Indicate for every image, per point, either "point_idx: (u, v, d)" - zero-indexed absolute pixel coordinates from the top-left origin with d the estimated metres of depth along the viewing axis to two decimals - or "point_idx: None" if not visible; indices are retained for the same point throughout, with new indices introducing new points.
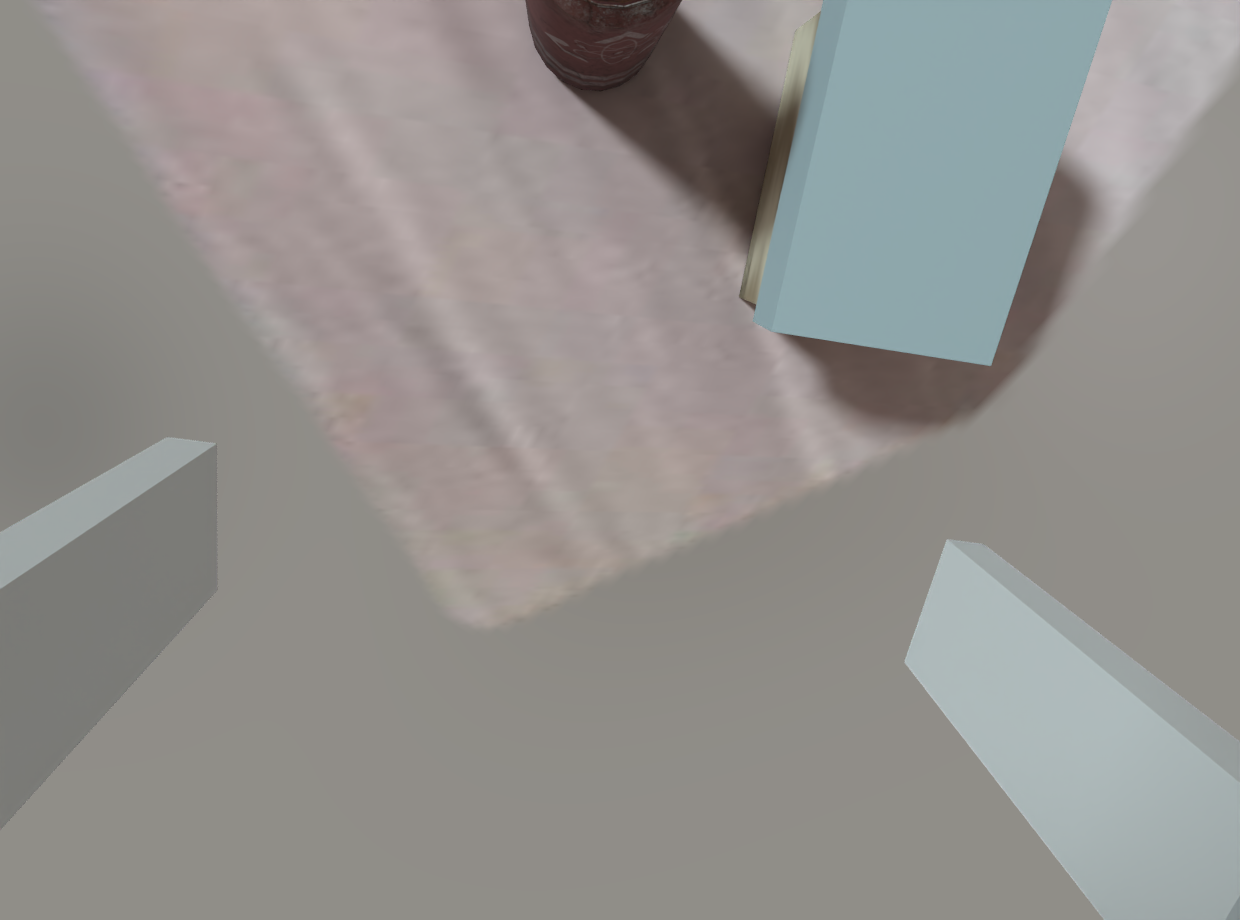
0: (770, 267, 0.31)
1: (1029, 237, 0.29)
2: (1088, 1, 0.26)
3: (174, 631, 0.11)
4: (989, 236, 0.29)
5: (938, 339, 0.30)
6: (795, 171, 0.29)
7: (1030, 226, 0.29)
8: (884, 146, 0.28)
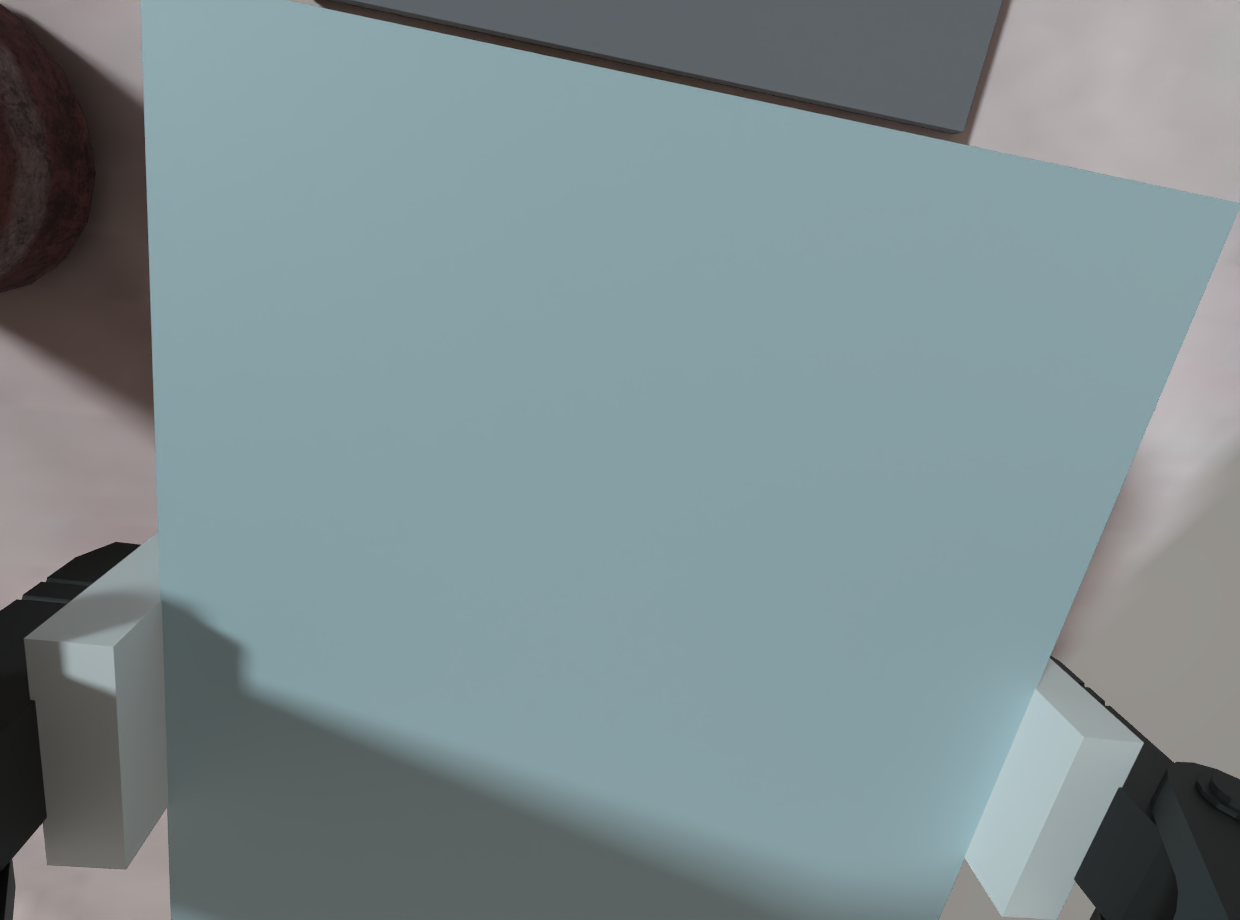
0: None
1: (948, 871, 0.10)
2: (1152, 208, 0.07)
3: None
4: (823, 877, 0.09)
5: None
6: None
7: (948, 847, 0.09)
8: (427, 681, 0.08)
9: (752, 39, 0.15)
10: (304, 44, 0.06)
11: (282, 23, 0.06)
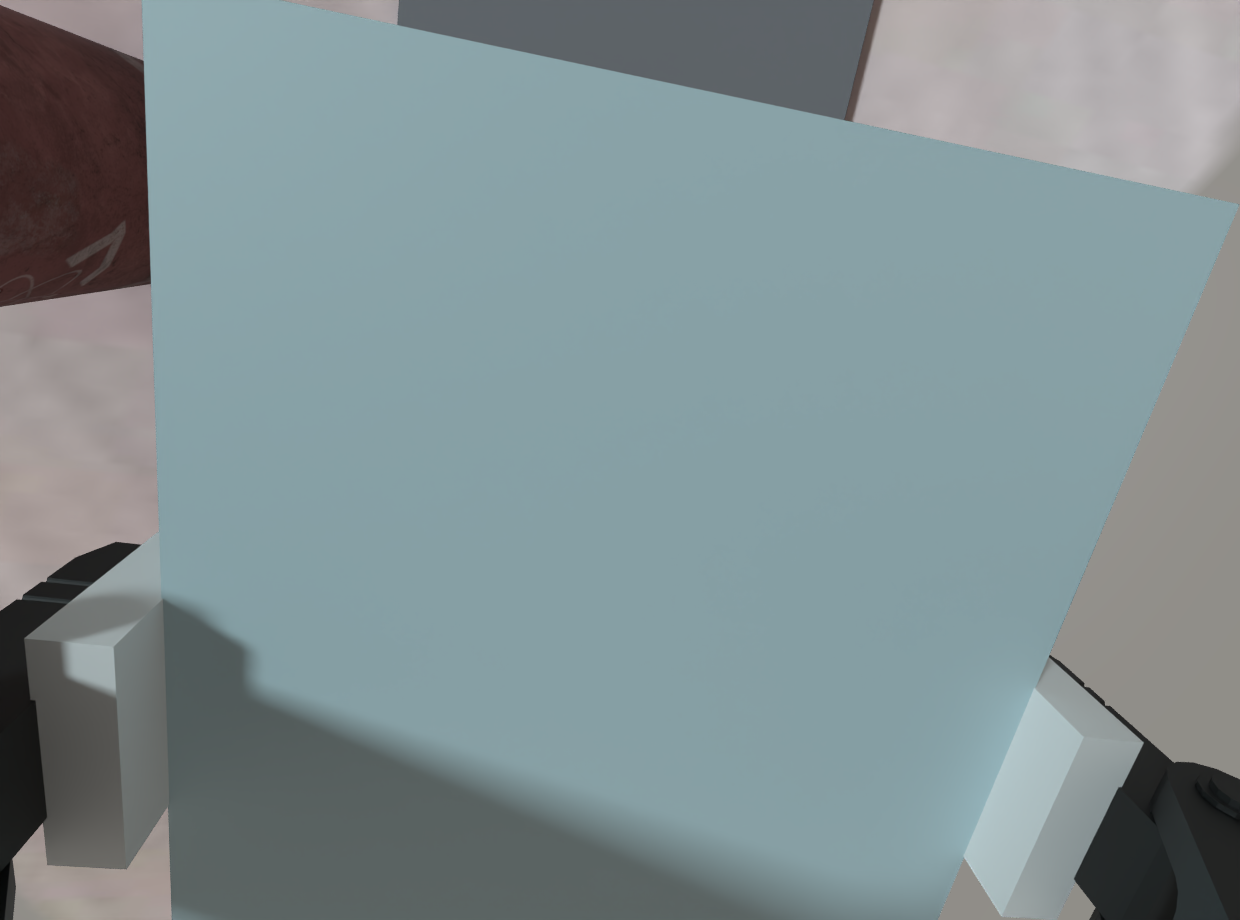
0: None
1: (947, 869, 0.10)
2: (1150, 210, 0.07)
3: None
4: (822, 877, 0.09)
5: None
6: None
7: (948, 846, 0.09)
8: (428, 680, 0.08)
9: None
10: (305, 45, 0.06)
11: (283, 24, 0.06)
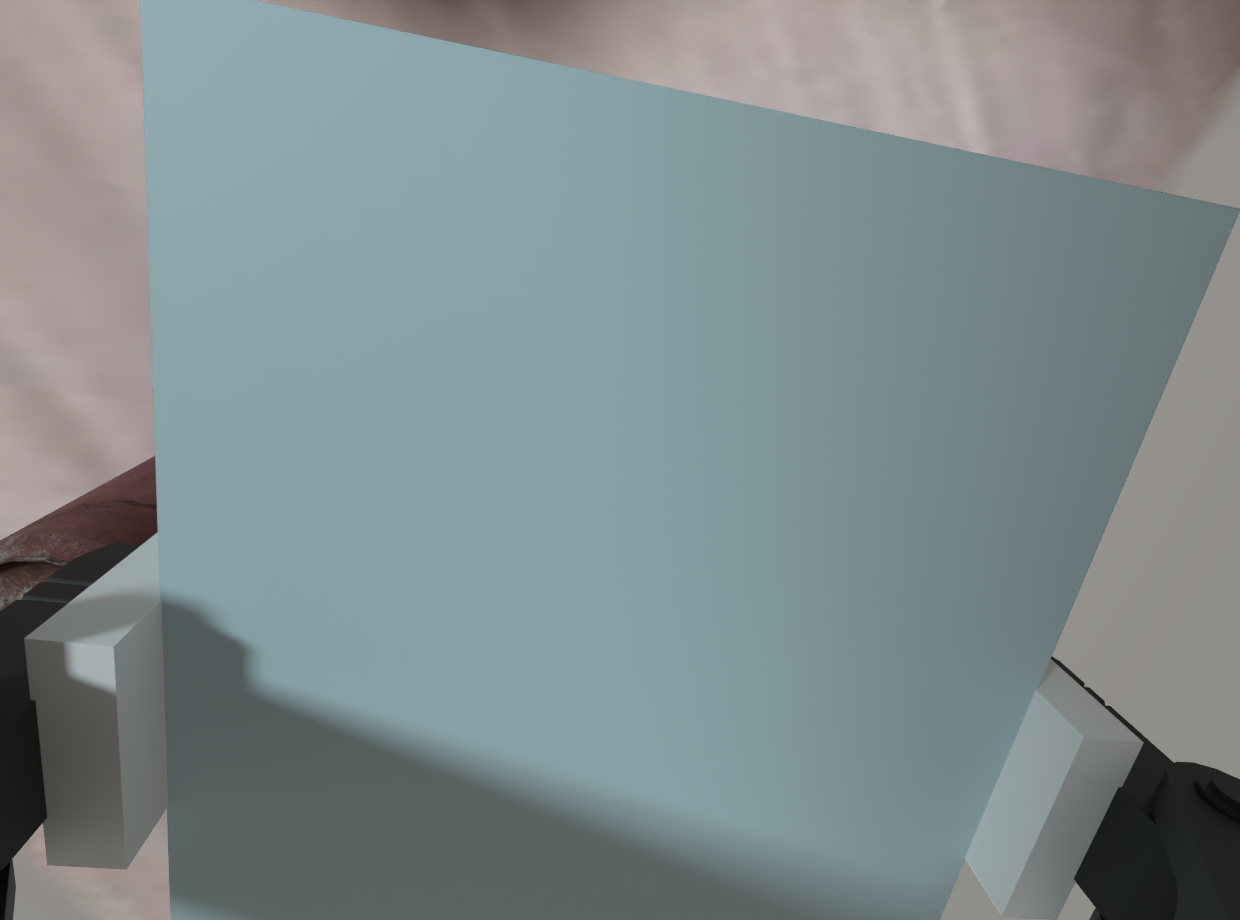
0: None
1: (947, 874, 0.10)
2: (1151, 213, 0.07)
3: None
4: (822, 881, 0.09)
5: None
6: None
7: (948, 851, 0.09)
8: (427, 685, 0.08)
9: None
10: (304, 50, 0.06)
11: (282, 30, 0.06)
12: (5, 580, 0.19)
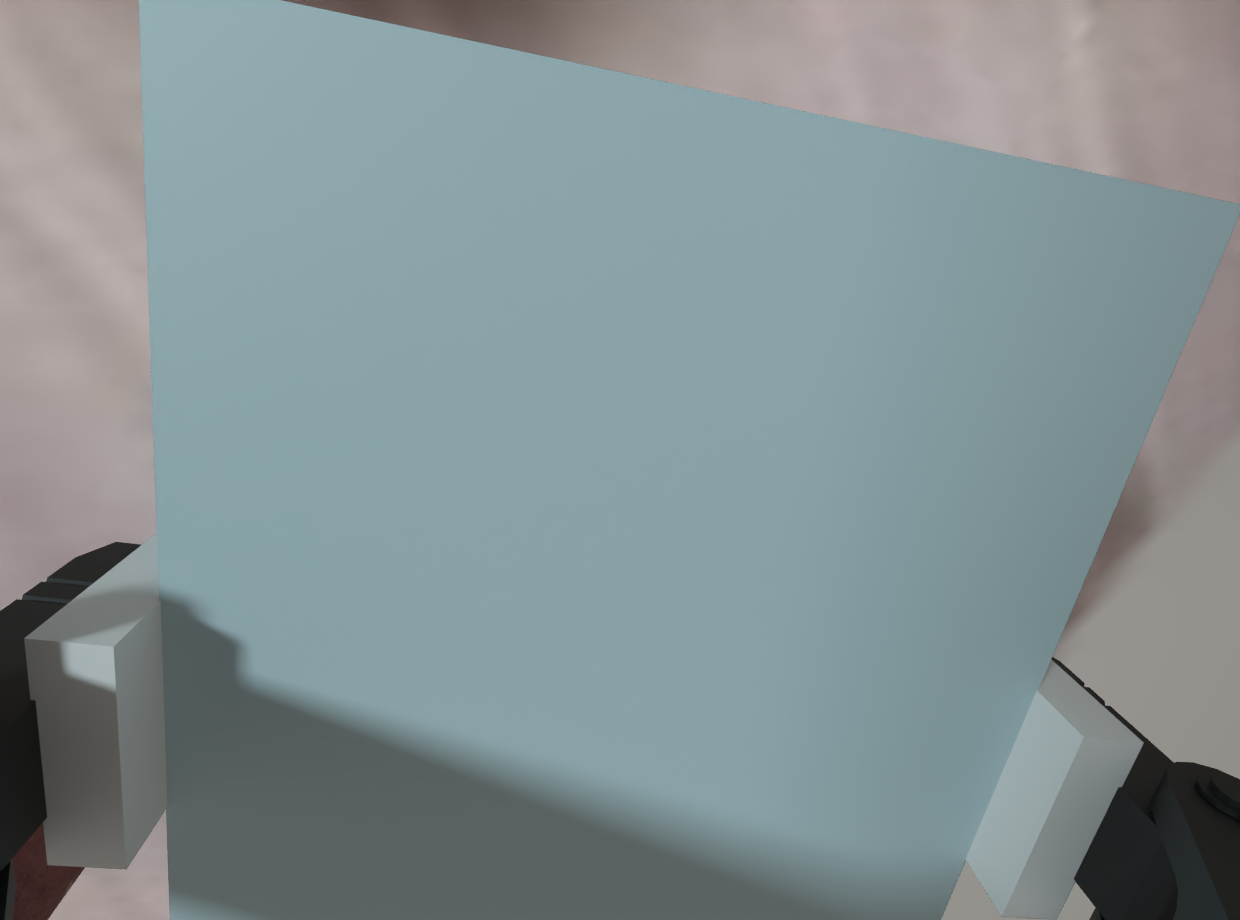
0: None
1: (949, 874, 0.10)
2: (1154, 210, 0.07)
3: None
4: (823, 880, 0.09)
5: None
6: None
7: (949, 850, 0.09)
8: (428, 683, 0.08)
9: None
10: (303, 45, 0.06)
11: (281, 24, 0.06)
12: None
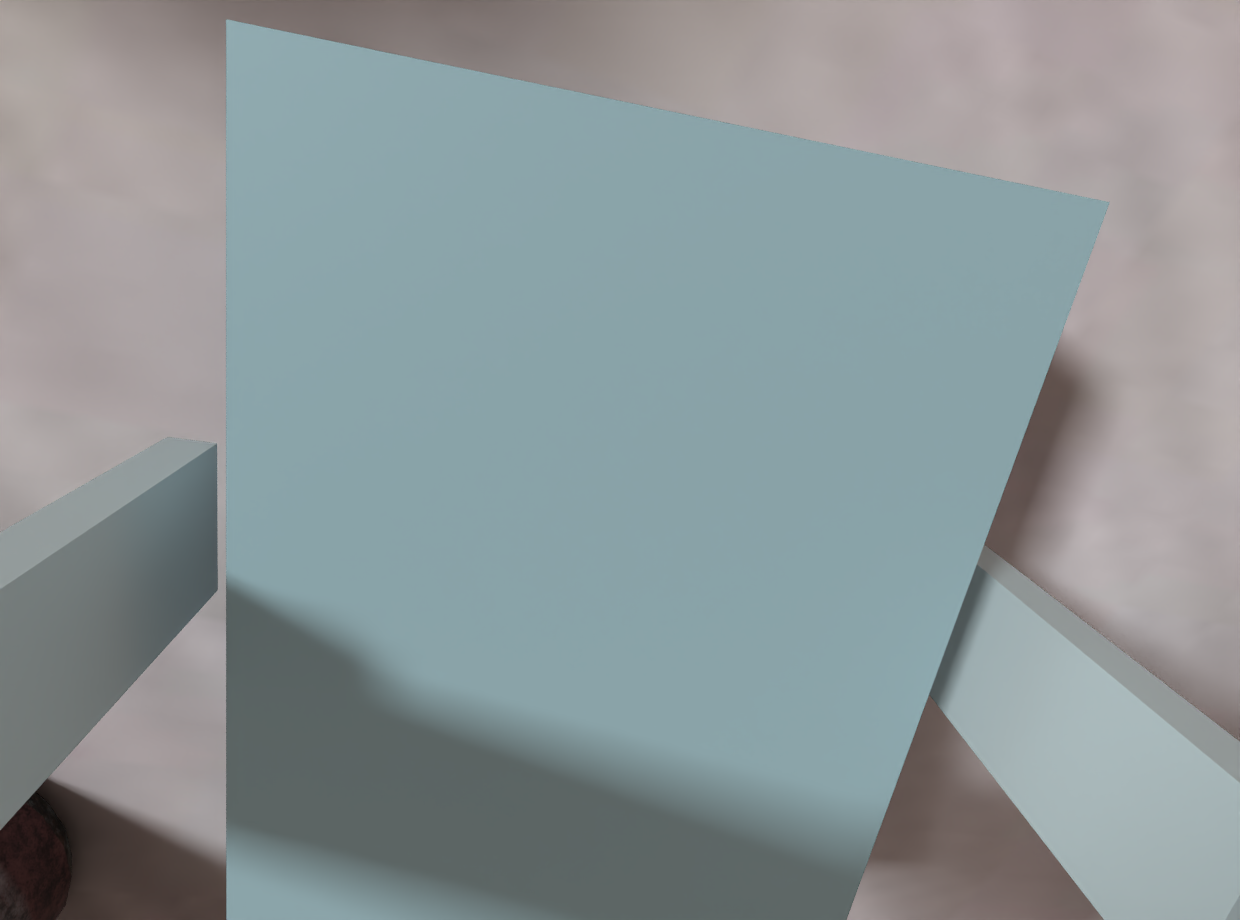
0: None
1: (889, 775, 0.11)
2: (1036, 206, 0.08)
3: (174, 631, 0.11)
4: (781, 779, 0.11)
5: None
6: None
7: (889, 754, 0.11)
8: (445, 600, 0.09)
9: None
10: (353, 77, 0.07)
11: (336, 60, 0.07)
12: None
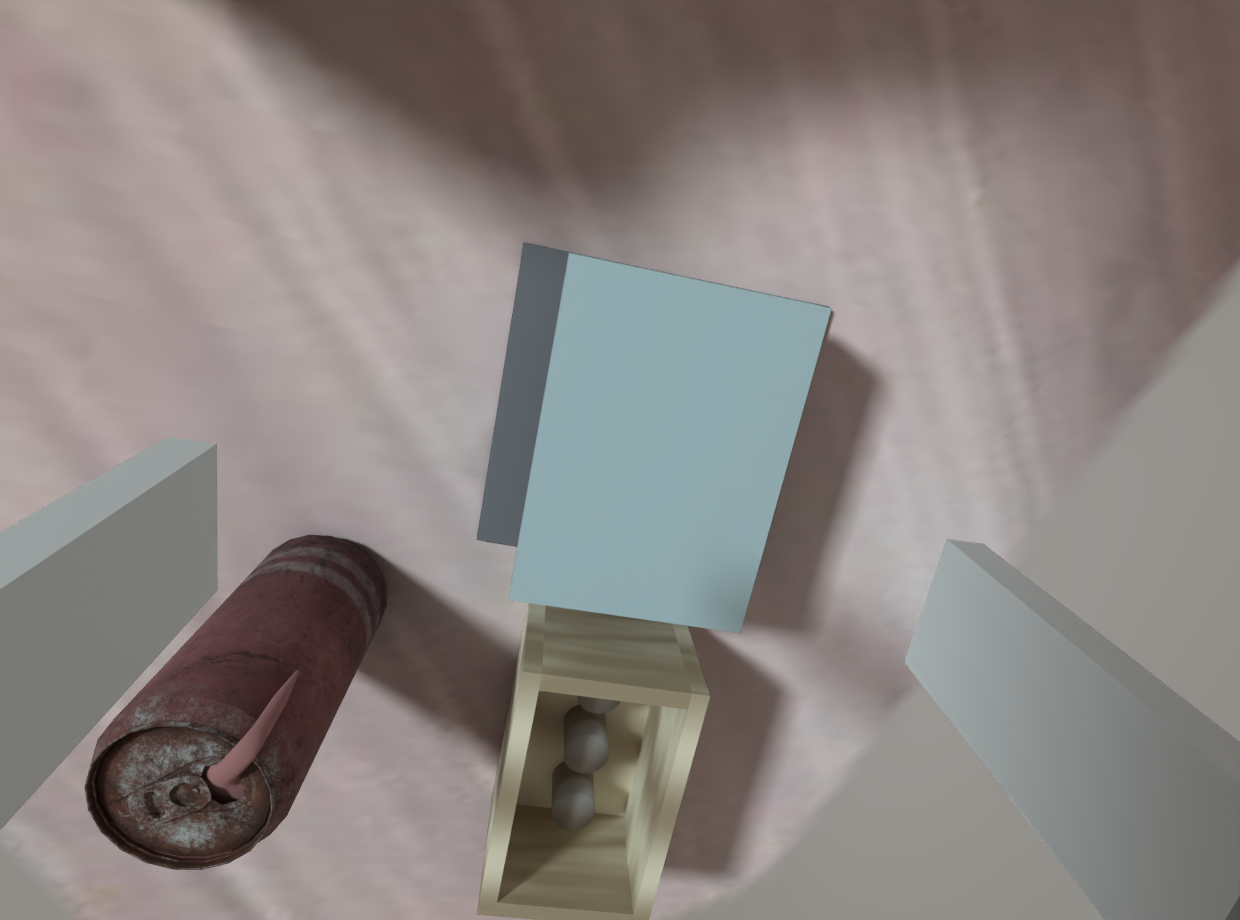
0: (521, 524, 0.31)
1: (768, 517, 0.29)
2: (807, 309, 0.27)
3: (174, 631, 0.11)
4: (727, 516, 0.29)
5: (683, 608, 0.30)
6: None
7: (768, 508, 0.29)
8: (610, 435, 0.27)
9: None
10: (602, 268, 0.26)
11: (598, 264, 0.26)
12: (148, 739, 0.21)
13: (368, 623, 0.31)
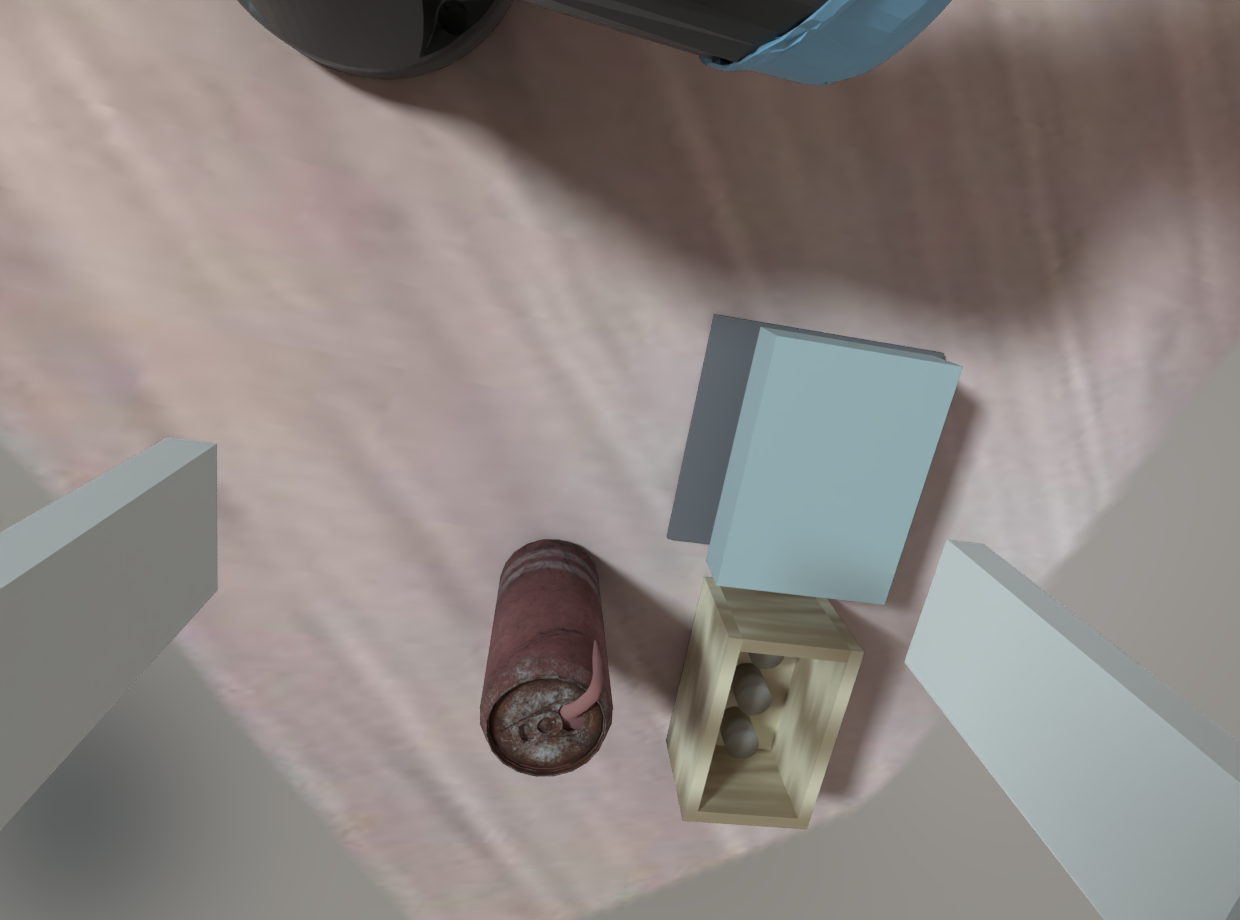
0: (717, 528, 0.41)
1: (909, 519, 0.39)
2: (945, 367, 0.36)
3: (174, 631, 0.11)
4: (879, 519, 0.39)
5: (843, 587, 0.40)
6: (734, 468, 0.39)
7: (909, 512, 0.39)
8: (798, 463, 0.37)
9: None
10: (799, 345, 0.35)
11: (796, 342, 0.35)
12: (527, 688, 0.31)
13: None
